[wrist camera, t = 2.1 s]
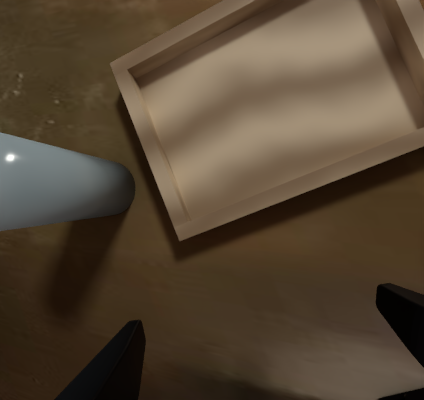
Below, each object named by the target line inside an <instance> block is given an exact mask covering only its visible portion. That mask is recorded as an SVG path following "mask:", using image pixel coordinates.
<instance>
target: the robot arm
mask: <svg viewBox="0 0 424 400" xmlns="http://www.w3.org/2000/svg"><path fill="white" fill-rule="evenodd" d="M376 306H377V308H378V310H379V311H380V313H381V314H382V315H383V317H384V318H385V319H386V321H387V322H388V324H389V325H390V326H391V328H392V329H393V330H394V332H395V333H396V334H397V336H398V337H399V338H400V340H401V341H402V342H403V344H404V345H405V346H406V347H407V349H408V350H409V351H410V352H411V354H412V355H413V356H414V357H415V358H416V359H417V361H418V362H419V363H420V364H421V365H422V366H423V367H424V295H423V294H420V293H417V292H414V291H411V290H408V289H405V288H402V287H400V286H397V285H394V284H391V283H386V284H380V285H378V287H377V293H376ZM145 344H146V339H145V334H144V329H143V325H142V322H141V320H132V321H129V322H128V323H127V324H126V325H125V326H124V327H123V328H122V329H121V330H120V331H119V332H118V333H117V334H116V335H115V336H114V337H113V339H112V340H111V341H110V342H109V343H108V344H107V345H106V346H105V347H104V348H103V349H102V350H101V351H100V352H99V353H98V354H97V355H96V356H95V357H94V358H93V360H92V361H91V362H90V363H89V364H88V365H87V366H86V367H85V368H84V369H83V370H82V371H81V372H80V373H79V374H78V375H77V376H76V377H75V378H74V380H73V381H72V382H71V383H70V384H69V385H68V386H67V387H66V388H65V389H64V390H63V391H62V392H61V393H60V394H59V395H58V396H57V397H56V398H55V399H54V400H138V396H139V390H140V383H141V376H142V368H143V360H144V352H145ZM380 400H424V388H422V389H418V390H414V391H409V392H405V393H401V394H397V395H392V396H388V397H384V398H381V399H380Z"/></svg>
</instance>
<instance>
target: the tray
mask: <svg viewBox="0 0 424 400" xmlns="http://www.w3.org/2000/svg"><path fill="white" fill-rule="evenodd" d="M110 65H111V68H112V70H113V73H114V76H115V78H116V81H117V83H118V86H119V88H120V91H121V93H122V96H123V98H124V101H125V104H126V106H127V109H128V111H129V114H130V116H131V119H132V121H133V124H134V127H135V129H136V132H137V134H138V137H139V139H140V142H141V144H142V147H143V149H144V152H145V155H146V157H147V160H148V162H149V165H150V167H151V170H152V172H153V175H154V178H155V180H156V183H157V185H158V188H159V190H160V193H161V195H162V198H163V201H164V203H165V206H166V208H167V211H168V213H169V216H170V218H171V221H172V223H173V226H174V229H175V231H176V234H177V236H178V239H179V241H182V240H184V239H187V238H189V237H192V236H194V235H197V234H200V233H202V232H205V231H207V230H210V229H212V228H215V227H218V226H220V225H223V224H225V223H228V222H230V221H233V220H236V219H238V218H241V217H243V216H246V215H248V214H251V213H254V212H256V211H259V210H261V209H264V208H266V207H269V206H272V205H274V204H277V203H279V202H282V201H284V200H287V199H290V198H292V197H295V196H297V195H300V194H302V193H305V192H308V191H310V190H313V189H315V188H318V187H320V186H323V185H325V184H328V183H331V182H333V181H336V180H338V179H341V178H343V177H346V176H349V175H351V174H354V173H356V172H359V171H361V170H364V169H367V168H369V167H372V166H374V165H377V164H379V163H382V162H385V161H387V160H390V159H392V158H395V157H397V156H400V155H403V154H405V153H408V152H410V151H413V150H415V149H418V148H421V147H423V146H424V10H423V8H422V6H421V4H420V2H419V0H223V1H221V2H220V3H218V4H216V5H214V6H212V7H211V8H209V9H207V10H205V11H203V12H202V13H200V14H198V15H196V16H194V17H193V18H191V19H189V20H187V21H185V22H184V23H182V24H180V25H178V26H176V27H175V28H173V29H171V30H169V31H167V32H165V33H164V34H162V35H160V36H158V37H156V38H155V39H153V40H151V41H149V42H147V43H146V44H144V45H142V46H140V47H138V48H137V49H135V50H133V51H131V52H129V53H128V54H126V55H124V56H122V57H120V58H119V59H117V60H115V61H113V62H111V63H110Z"/></svg>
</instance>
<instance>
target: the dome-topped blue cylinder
mask: <svg viewBox="0 0 424 400" xmlns="http://www.w3.org/2000/svg"><path fill="white" fill-rule="evenodd" d="M134 196H135V181H134V178H133V176H132V174H131V173H130V171H129V170H128V169H127V168H126V167H125V166H123V165H122V164H120V163H117V162H113V161H109V160H105V159H101V158H98V157H94V156H90V155H86V154H82V153H78V152H74V151H70V150H66V149H63V148H59V147H55V146H51V145H47V144H43V143H39V142H35V141H31V140H27V139H24V138H20V137H16V136H12V135H8V134H4V133H0V231H3V230H10V229H17V228H25V227H32V226H39V225H46V224H53V223H60V222H68V221H75V220H82V219H89V218H96V217H103V216H110V215H116V214H119V213H122V212H123V211H125V210H126V209H127V208H128V207H129V206H130V204H131V203H132V201H133V199H134Z"/></svg>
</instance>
